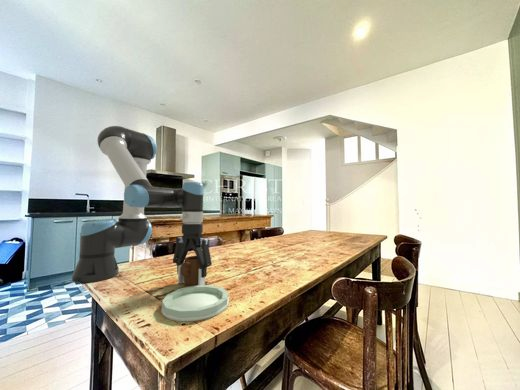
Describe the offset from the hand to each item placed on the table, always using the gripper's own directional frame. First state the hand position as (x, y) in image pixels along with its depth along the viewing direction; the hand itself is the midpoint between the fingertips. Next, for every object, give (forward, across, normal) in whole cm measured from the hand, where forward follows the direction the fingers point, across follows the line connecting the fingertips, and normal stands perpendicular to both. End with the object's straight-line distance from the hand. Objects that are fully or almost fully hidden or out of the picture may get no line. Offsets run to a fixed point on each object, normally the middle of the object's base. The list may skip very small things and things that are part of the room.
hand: (191, 284), depth 79 cm
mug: (0, 0, 0) cm, 0 cm away
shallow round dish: (0, +13, -12) cm, 18 cm away
